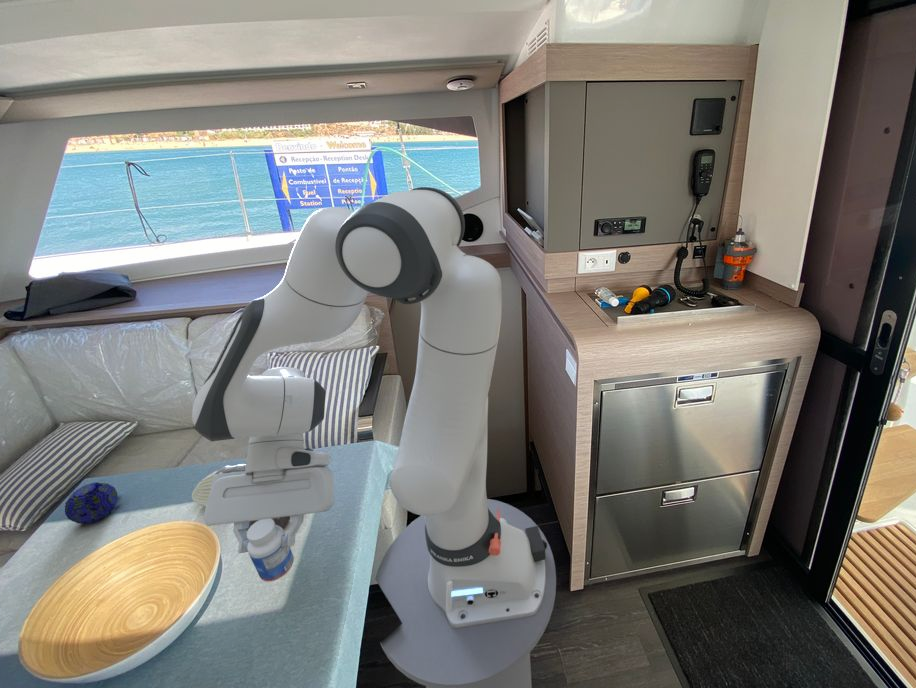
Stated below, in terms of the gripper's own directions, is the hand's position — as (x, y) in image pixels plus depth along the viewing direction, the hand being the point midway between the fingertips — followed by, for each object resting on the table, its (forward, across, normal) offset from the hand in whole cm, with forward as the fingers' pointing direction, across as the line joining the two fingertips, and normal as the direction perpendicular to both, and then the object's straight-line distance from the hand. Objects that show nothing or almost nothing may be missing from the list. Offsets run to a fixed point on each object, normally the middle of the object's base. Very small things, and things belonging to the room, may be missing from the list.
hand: (267, 549), depth 68 cm
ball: (-8, -53, +30) cm, 61 cm away
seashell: (-9, -27, +30) cm, 42 cm away
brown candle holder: (-5, -12, +27) cm, 30 cm away
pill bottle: (+4, 0, +4) cm, 6 cm away
